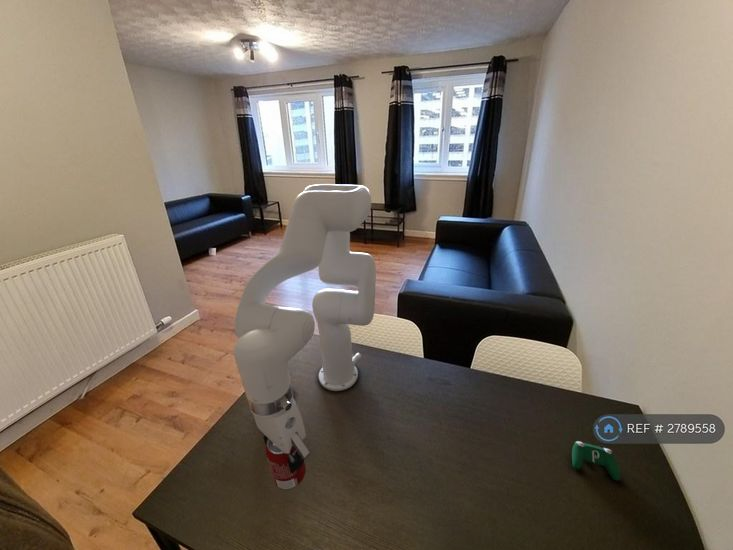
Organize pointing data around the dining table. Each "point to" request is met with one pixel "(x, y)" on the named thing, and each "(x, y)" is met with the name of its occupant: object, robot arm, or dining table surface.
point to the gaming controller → (595, 458)
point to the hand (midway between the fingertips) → (285, 454)
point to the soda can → (283, 467)
